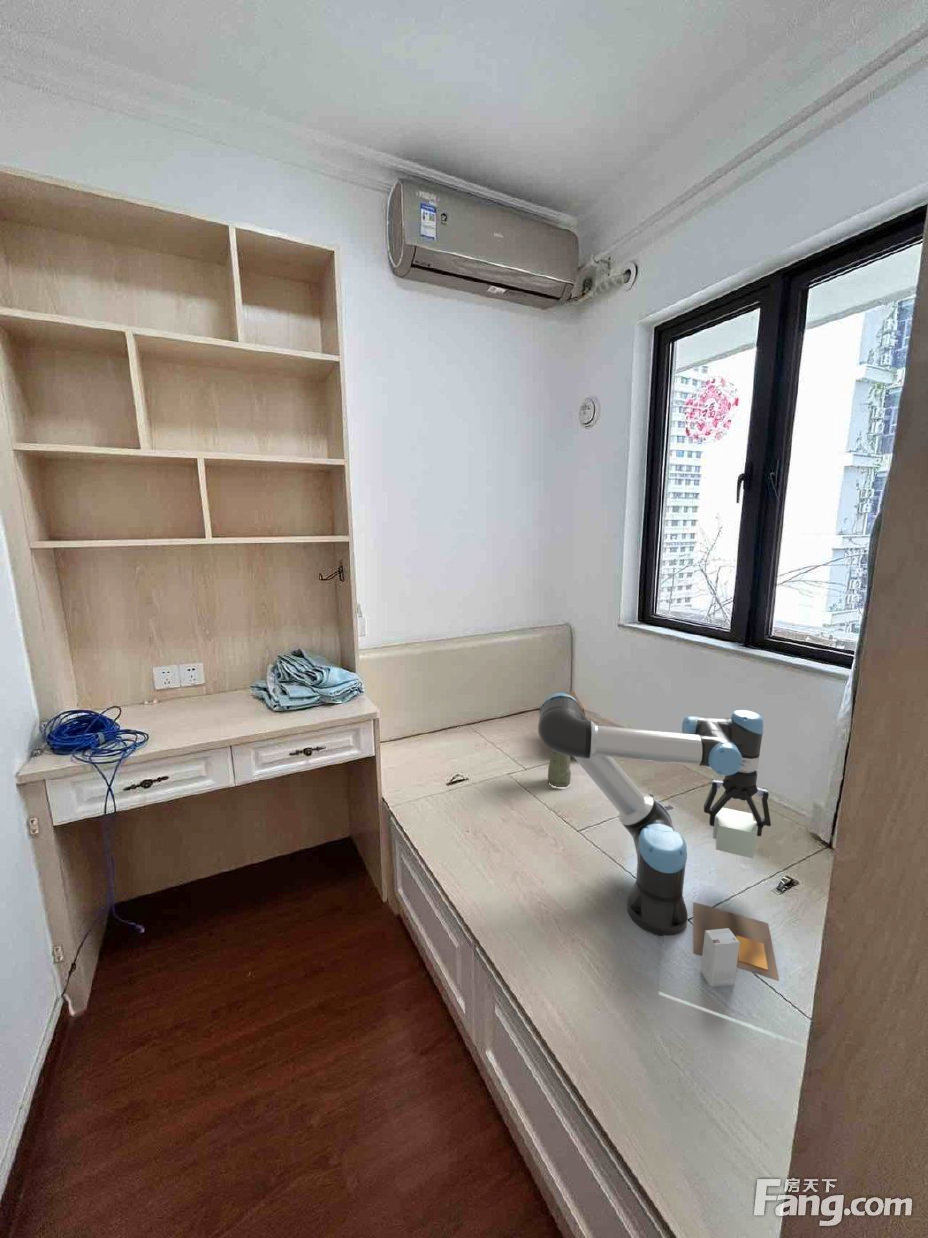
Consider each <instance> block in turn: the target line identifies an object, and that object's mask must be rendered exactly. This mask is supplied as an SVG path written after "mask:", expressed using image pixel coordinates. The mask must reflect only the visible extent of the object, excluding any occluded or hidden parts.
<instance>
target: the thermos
mask: <svg viewBox="0 0 928 1238" xmlns="http://www.w3.org/2000/svg"><path fill="white" fill-rule="evenodd" d="M549 751H550V752H549V765H548V770H547V773H548V774H547V779H548V780H547V781H549V783H550V784H551V785H553V786H556V787H567V786H568V785H569V784H570V785H571V777H572V776H571V775H572V772H571V765H570V764H571V756H567V755H563V754H559V753H557V752H554V751H552V750H551V749H549Z"/></svg>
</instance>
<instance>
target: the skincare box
mask: <svg viewBox="0 0 928 1238" xmlns="http://www.w3.org/2000/svg"><path fill="white" fill-rule="evenodd" d="M739 945H740V942H739V941H738V940H737V938H736V937H735V936H734V934H733V933H732V932H731V931H730V929H729V928H726V929H716V930H705V936H704V945H703V954H702V956H701V964H700V972H701V973H702V975H703V977H704V978H705V979H706V982H707V984H708V985H709V986H710V987H720V986H722V987H723V986H730V985H731V986H733V985H735V984H736V983H735V982H736V976H737V968H738V967H737V960H738V952H739Z"/></svg>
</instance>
